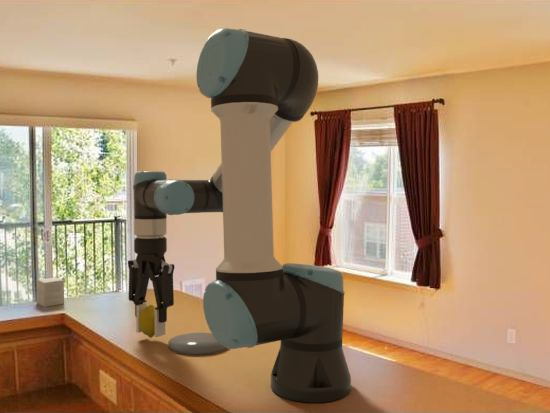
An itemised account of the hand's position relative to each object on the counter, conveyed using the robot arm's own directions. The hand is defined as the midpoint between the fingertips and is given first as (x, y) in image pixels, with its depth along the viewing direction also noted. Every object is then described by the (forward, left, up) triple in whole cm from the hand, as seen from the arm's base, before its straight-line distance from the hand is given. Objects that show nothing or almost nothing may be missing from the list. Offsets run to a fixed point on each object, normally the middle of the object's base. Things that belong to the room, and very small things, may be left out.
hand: (150, 333), depth 133 cm
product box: (+51, -7, -2) cm, 52 cm away
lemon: (0, 0, -1) cm, 1 cm away
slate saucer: (-12, -4, -2) cm, 13 cm away
